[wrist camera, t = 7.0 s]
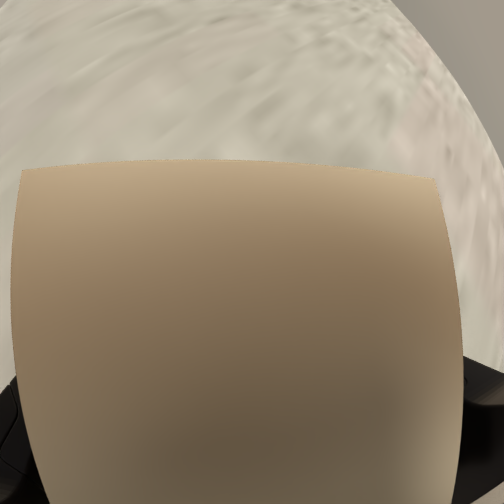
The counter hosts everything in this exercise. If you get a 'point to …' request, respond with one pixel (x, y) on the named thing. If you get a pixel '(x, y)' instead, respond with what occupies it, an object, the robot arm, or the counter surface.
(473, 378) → the robot arm
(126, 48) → the counter surface
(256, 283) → the stack of paper
